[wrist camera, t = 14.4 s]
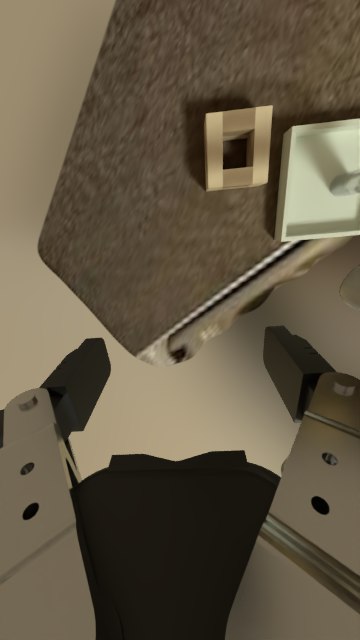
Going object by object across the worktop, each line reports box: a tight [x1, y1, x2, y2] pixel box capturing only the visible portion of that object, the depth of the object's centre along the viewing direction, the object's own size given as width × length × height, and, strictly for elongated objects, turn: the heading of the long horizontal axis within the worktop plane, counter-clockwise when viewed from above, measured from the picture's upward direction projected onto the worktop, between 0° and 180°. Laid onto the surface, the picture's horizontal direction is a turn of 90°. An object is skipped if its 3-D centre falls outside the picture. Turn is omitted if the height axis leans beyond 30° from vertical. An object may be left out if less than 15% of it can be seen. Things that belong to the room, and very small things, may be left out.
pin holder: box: [204, 105, 273, 191], centre depth 31 cm, size 8×8×4 cm
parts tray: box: [274, 118, 360, 242], centre depth 32 cm, size 14×14×3 cm
